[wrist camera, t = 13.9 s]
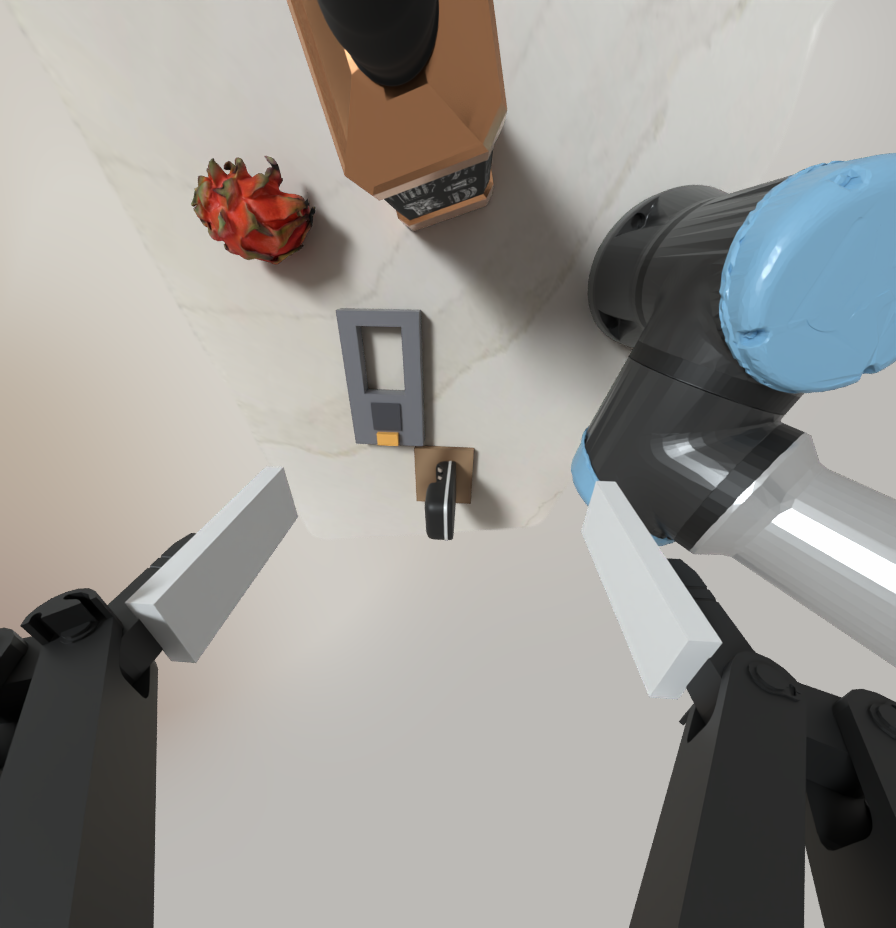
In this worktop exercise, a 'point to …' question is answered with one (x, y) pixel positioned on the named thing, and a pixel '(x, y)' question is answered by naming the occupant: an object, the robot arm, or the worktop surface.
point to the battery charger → (441, 502)
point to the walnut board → (434, 454)
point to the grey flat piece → (384, 410)
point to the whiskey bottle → (409, 98)
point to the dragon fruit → (252, 212)
